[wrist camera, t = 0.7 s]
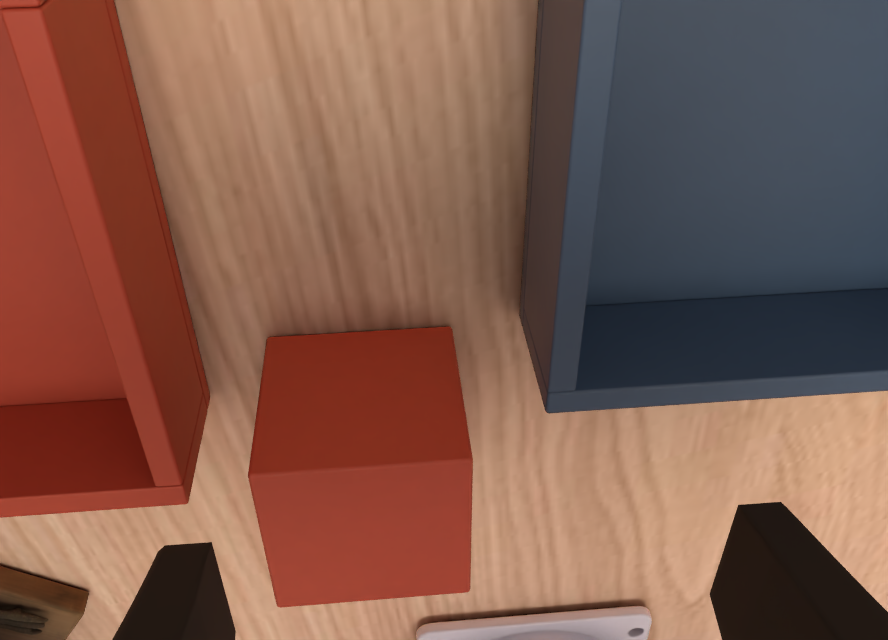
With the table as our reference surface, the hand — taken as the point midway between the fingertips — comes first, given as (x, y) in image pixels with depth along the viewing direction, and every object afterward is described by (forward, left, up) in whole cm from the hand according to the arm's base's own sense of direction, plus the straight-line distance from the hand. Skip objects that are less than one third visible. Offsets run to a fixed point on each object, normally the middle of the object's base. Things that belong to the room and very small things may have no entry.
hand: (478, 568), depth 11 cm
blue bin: (+3, -7, -9) cm, 12 cm away
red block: (-5, +2, -9) cm, 10 cm away
